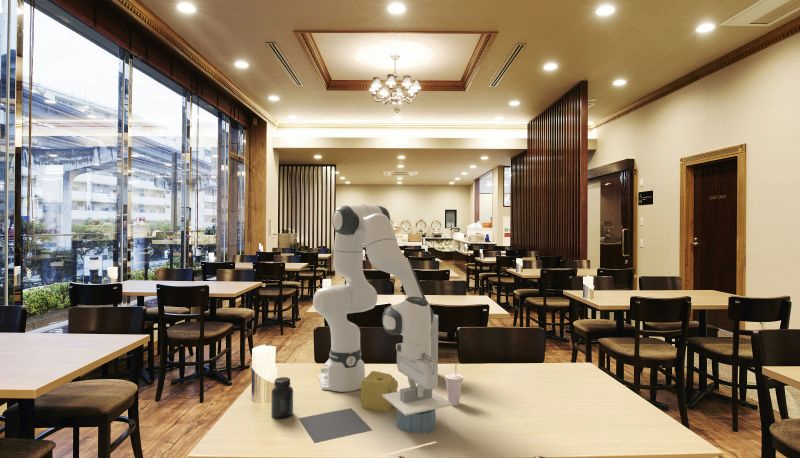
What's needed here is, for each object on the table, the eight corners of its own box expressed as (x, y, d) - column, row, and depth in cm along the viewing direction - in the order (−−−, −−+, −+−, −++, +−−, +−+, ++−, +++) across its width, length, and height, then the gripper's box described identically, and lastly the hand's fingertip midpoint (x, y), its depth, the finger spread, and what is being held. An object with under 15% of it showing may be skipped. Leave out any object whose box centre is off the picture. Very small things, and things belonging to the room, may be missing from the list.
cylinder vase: (418, 369, 195) (418, 311, 194) (443, 375, 187) (443, 315, 187) (401, 377, 185) (401, 316, 184) (427, 384, 177) (427, 320, 177)
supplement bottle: (270, 413, 149) (270, 377, 149) (291, 410, 152) (291, 374, 151) (272, 422, 143) (273, 384, 142) (294, 418, 145) (294, 381, 145)
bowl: (391, 421, 144) (391, 402, 144) (423, 414, 149) (423, 396, 149) (408, 437, 133) (408, 417, 133) (442, 429, 139) (442, 409, 139)
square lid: (382, 396, 145) (382, 383, 144) (425, 388, 152) (425, 376, 152) (405, 415, 130) (405, 401, 130) (452, 405, 138) (452, 392, 137)
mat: (298, 419, 144) (298, 418, 144) (351, 409, 153) (351, 408, 153) (314, 444, 128) (314, 442, 128) (372, 431, 137) (372, 430, 137)
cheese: (398, 401, 160) (398, 373, 160) (388, 414, 150) (388, 384, 149) (371, 398, 163) (371, 370, 163) (359, 409, 153) (359, 380, 153)
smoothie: (462, 408, 155) (462, 367, 154) (443, 406, 156) (443, 366, 156) (463, 400, 161) (463, 361, 161) (445, 399, 162) (445, 360, 162)
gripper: (443, 357, 133) (442, 404, 133) (410, 341, 151) (410, 382, 151) (424, 360, 130) (424, 408, 130) (393, 343, 148) (393, 385, 149)
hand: (416, 394), depth 141 cm, fingers closed on square lid, 2 cm apart
